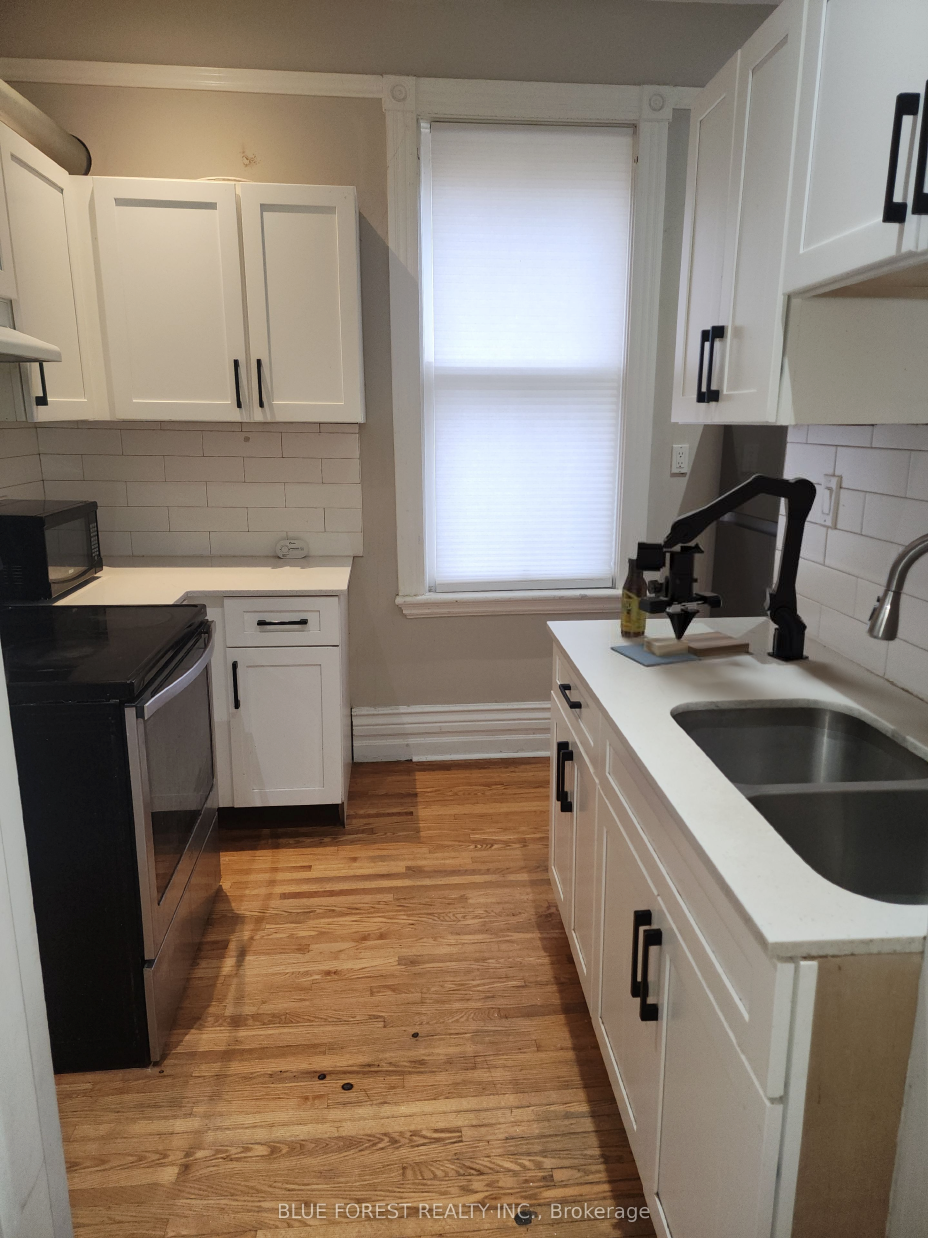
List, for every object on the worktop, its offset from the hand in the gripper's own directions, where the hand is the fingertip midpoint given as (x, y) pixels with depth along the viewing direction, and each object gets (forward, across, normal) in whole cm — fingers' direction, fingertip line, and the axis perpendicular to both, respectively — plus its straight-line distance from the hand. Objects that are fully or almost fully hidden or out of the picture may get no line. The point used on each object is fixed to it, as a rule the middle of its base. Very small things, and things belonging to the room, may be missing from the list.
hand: (678, 638), depth 187 cm
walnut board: (+3, -8, 0) cm, 9 cm away
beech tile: (+1, +3, 0) cm, 3 cm away
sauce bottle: (+3, +2, -17) cm, 17 cm away
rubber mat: (+3, +6, 0) cm, 7 cm away
